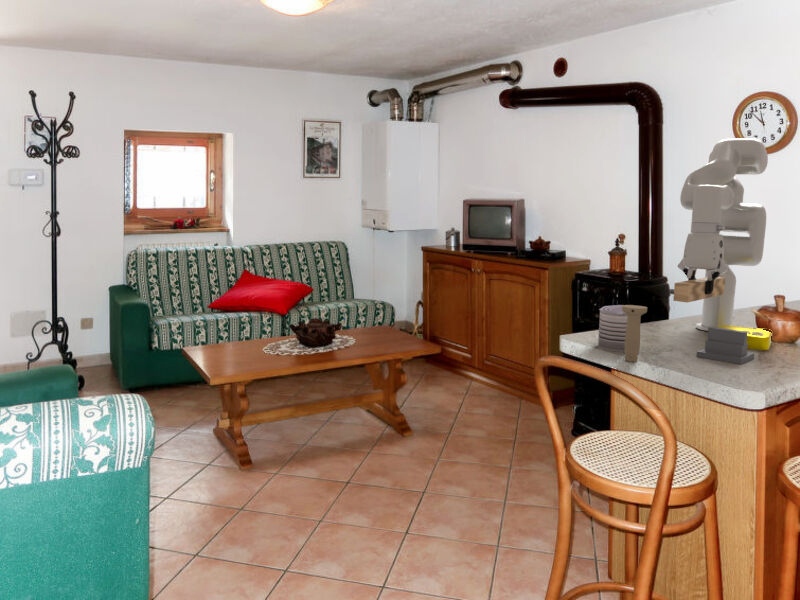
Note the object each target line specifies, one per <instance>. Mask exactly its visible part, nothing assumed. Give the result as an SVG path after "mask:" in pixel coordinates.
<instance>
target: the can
mask: <svg viewBox="0 0 800 600" xmlns="http://www.w3.org/2000/svg"><path fill="white" fill-rule="evenodd" d="M623 305H624V304H616V305H615V304H614V305H604V306H603V307H601V308H599V309H598V310H599V325H598V326H599V327H598V338H597V341H598V342H597V346H598V347H599V349H602V348H603V349H602V350H605V349H606V351H610V352H624V353H625V335H626V327H627V319H628V318H627V314H626V313H625V312H623V311H622V306H623Z"/></svg>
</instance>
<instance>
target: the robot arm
mask: <svg viewBox="0 0 800 600" xmlns="http://www.w3.org/2000/svg"><path fill="white" fill-rule="evenodd" d="M768 160H769V159H768V151H767V149H766V147H765V145H764V143H763V141H761V140H760V139H757V138H752V137H751V138H725V139H722V140H720V141H718V142H717V143H716V144H715V145H714V146H713V148H712V150H711V152H710V153H709V156H708V163H707V164H705V165H703V166H701V167H699V168H697V169H696V170H694V171H692V172H691V173H690V174H689V175H688V176H687V177H686V178H685V180H684V183H683V186H682V188H681V191H680V197H679V198H680V199H679V200H680V203H681V206H682V208H684V209H685V210H688V211H691V224H690V225H691V226H690V232H688V234H687V237H686V239H685V240H686V241H685V244H684V250H683V257H682V260H681V261H680V262H679V263H678V265H677V268H678V269H679V270H681V271H682V272H683V273H684V274H685V276H686V278H687V279H688V280H694V279H697V277H696V274H697V270H698V269H699V270H705V273H704V274H705V275H704V278H705V277H708V279H707V280H706V283H705V294H707V295H708V294H711V293H712V291H713V287H714V280H715V279H716V278H717V277H724V278H725V288H724V294H723V295H719V296H714V297H710V298H706V299H702V309H701V310H702V311H701V322H698V323H696V324H695V325H696V326H695V328H696V329H698V330H701V331H705V332H708V327H718V328H719V326H721V325H731V326H733V322H734V320H735V316H734V310H735V309H734V308H735V299H736V298H735V295H736V294H735V293H736V285H737V278H736V275H735V272H734V271H733V270H732V269H731V268H730V266H741V267H743V266H745V267H747V266H748V267H754V266H758V265H759V264H761V262H762V259H763V254H764V246H765V238H766V237H765V236H766V228H767V227H766V226H767V211H766V208H765V206H763V205H762V204H758V203H744V193H745V188H744V185H743V184H742V183H741V181H740V180H739V179H738V178H737V177H736V175H749V176H750V175H760V174H763V173H764V172H765V171H766V169H767V167H768V163H769V162H768ZM721 232H726V233H741V234H742V233H746V234H748V235H749V236H741V235H725V234H724V235H723V234H720V233H721ZM688 280H687V281H688Z"/></svg>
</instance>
